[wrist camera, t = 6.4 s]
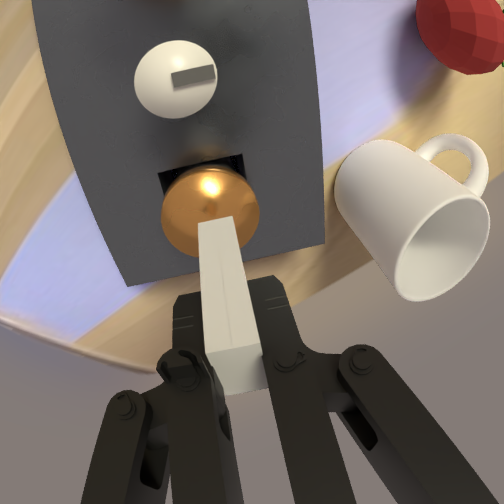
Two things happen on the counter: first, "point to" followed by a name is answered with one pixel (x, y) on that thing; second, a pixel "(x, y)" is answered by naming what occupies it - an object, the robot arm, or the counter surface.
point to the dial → (175, 79)
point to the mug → (416, 212)
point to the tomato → (463, 33)
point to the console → (187, 118)
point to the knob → (207, 203)
